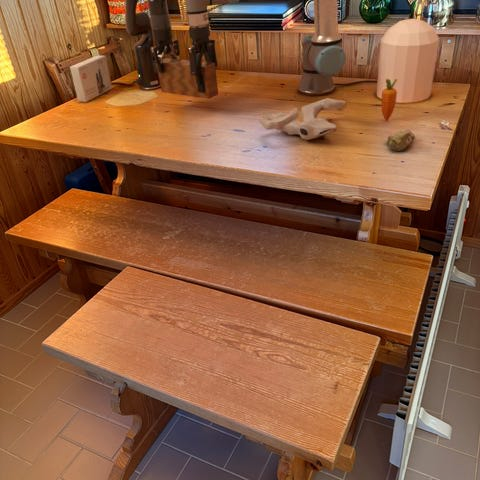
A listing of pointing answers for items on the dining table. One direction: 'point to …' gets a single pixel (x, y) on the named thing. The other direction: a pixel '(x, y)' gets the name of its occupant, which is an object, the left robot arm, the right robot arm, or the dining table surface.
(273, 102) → the dining table surface
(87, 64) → the skincare box
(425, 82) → the container
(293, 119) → the beige branched piece
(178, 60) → the box
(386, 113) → the carrot
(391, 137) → the rock
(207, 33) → the right robot arm
